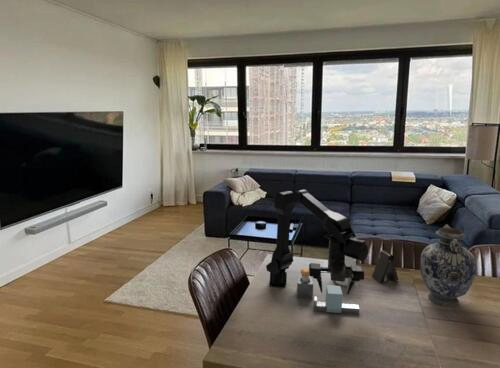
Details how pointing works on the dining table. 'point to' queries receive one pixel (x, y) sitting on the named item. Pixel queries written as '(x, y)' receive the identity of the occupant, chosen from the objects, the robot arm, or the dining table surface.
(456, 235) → the decorative vase
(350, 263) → the mug
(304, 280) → the orange and white mushroom
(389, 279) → the black tent sign
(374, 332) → the dining table surface
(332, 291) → the grey block
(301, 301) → the dining table surface
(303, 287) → the grey hollow box
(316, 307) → the rail
